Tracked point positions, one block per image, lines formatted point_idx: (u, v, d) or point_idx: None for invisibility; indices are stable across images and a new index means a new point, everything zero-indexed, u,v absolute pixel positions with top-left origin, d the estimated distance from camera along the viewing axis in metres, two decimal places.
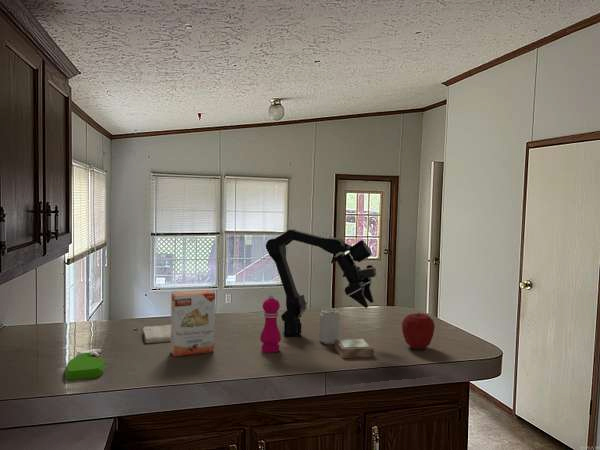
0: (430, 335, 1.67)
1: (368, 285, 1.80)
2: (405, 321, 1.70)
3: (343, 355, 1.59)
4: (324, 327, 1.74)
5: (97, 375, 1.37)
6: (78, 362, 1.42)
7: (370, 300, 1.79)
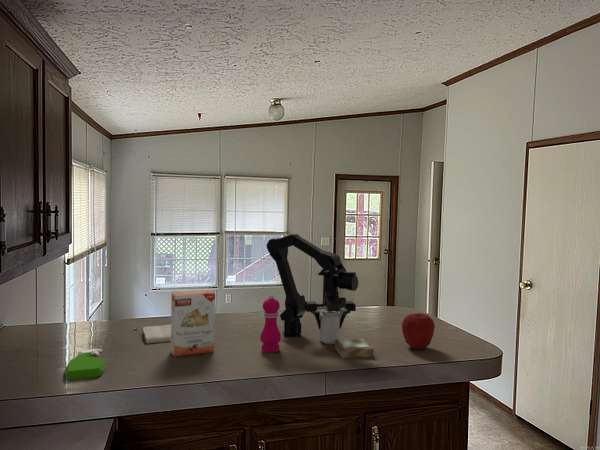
0: (430, 335, 1.67)
1: (342, 313, 1.76)
2: (405, 321, 1.70)
3: (343, 355, 1.59)
4: (324, 327, 1.74)
5: (97, 375, 1.38)
6: (79, 362, 1.43)
7: None
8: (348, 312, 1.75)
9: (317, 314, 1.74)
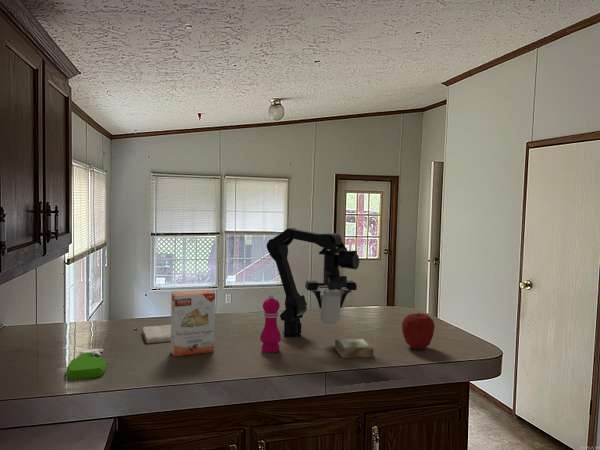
0: (430, 335, 1.67)
1: (343, 292, 1.75)
2: (405, 321, 1.70)
3: (343, 355, 1.59)
4: (325, 307, 1.73)
5: (98, 375, 1.38)
6: (80, 362, 1.43)
7: None
8: (349, 291, 1.74)
9: (318, 293, 1.73)
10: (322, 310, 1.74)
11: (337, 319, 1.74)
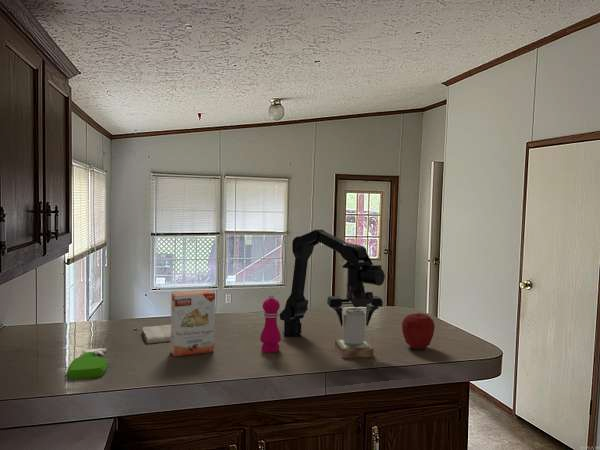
0: (430, 335, 1.67)
1: (370, 309, 1.63)
2: (405, 321, 1.70)
3: (343, 355, 1.59)
4: (349, 327, 1.62)
5: (99, 375, 1.38)
6: (81, 362, 1.43)
7: (366, 322, 1.66)
8: (376, 308, 1.63)
9: (339, 310, 1.61)
10: (345, 331, 1.63)
11: (361, 341, 1.62)
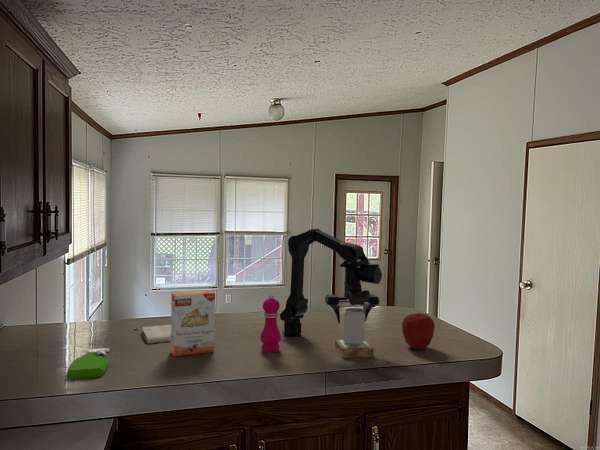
0: (430, 335, 1.67)
1: (367, 307, 1.67)
2: (405, 321, 1.70)
3: (343, 355, 1.59)
4: (349, 327, 1.62)
5: (98, 375, 1.38)
6: (82, 361, 1.43)
7: None
8: (373, 306, 1.66)
9: (337, 308, 1.65)
10: (345, 331, 1.63)
11: (361, 341, 1.62)
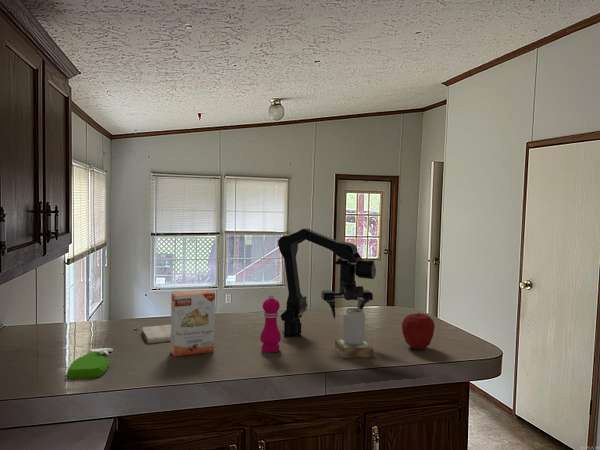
0: (430, 335, 1.67)
1: (361, 302, 1.75)
2: (405, 321, 1.70)
3: (343, 355, 1.59)
4: (349, 327, 1.62)
5: (97, 375, 1.38)
6: (83, 361, 1.44)
7: None
8: (367, 301, 1.74)
9: (332, 303, 1.73)
10: (345, 331, 1.63)
11: (361, 341, 1.62)
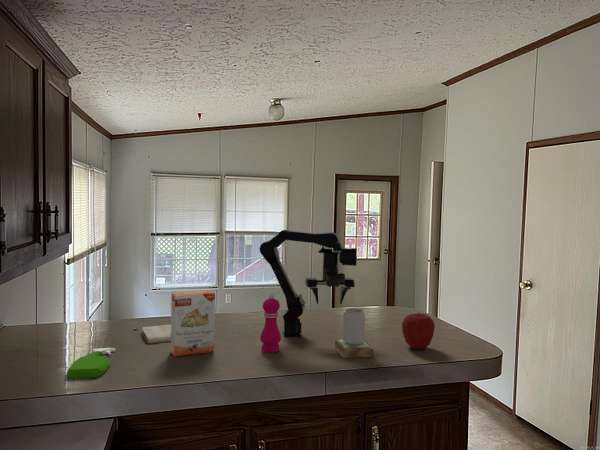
0: (430, 335, 1.67)
1: (343, 289, 1.82)
2: (405, 321, 1.70)
3: (343, 355, 1.59)
4: (349, 327, 1.62)
5: (97, 375, 1.37)
6: (84, 361, 1.44)
7: (340, 301, 1.84)
8: (349, 288, 1.81)
9: (315, 289, 1.80)
10: (345, 331, 1.63)
11: (361, 341, 1.62)
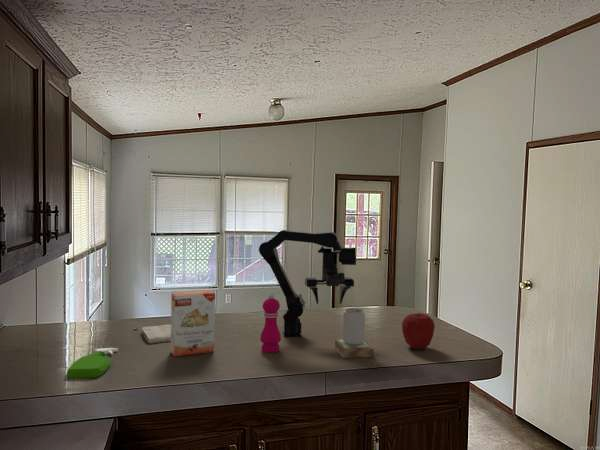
0: (430, 335, 1.67)
1: (342, 288, 1.82)
2: (405, 321, 1.70)
3: (343, 355, 1.59)
4: (349, 327, 1.62)
5: (96, 375, 1.37)
6: (84, 361, 1.44)
7: (339, 301, 1.84)
8: (348, 287, 1.81)
9: (315, 289, 1.80)
10: (345, 331, 1.63)
11: (361, 341, 1.62)
